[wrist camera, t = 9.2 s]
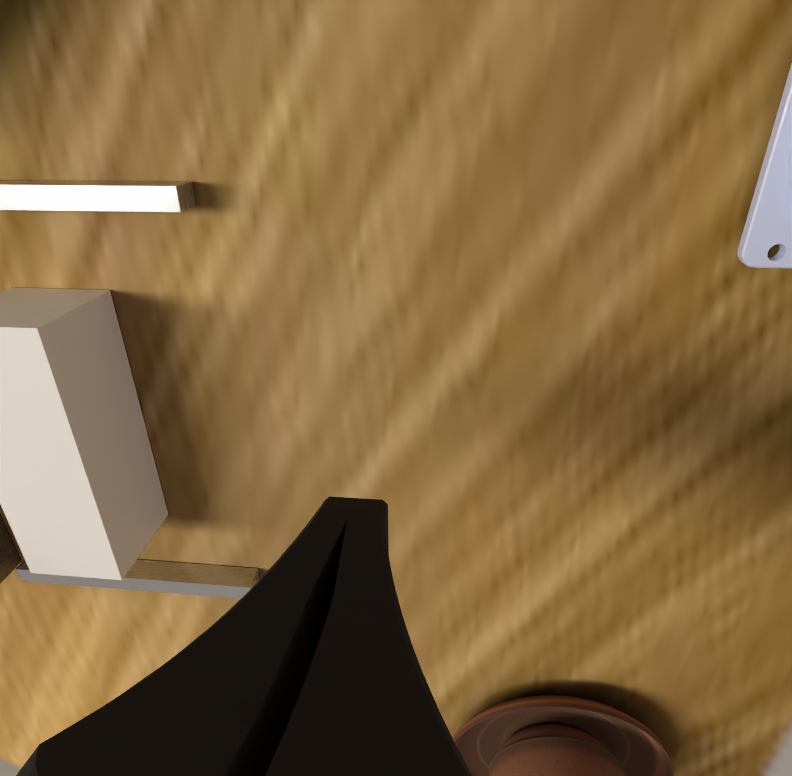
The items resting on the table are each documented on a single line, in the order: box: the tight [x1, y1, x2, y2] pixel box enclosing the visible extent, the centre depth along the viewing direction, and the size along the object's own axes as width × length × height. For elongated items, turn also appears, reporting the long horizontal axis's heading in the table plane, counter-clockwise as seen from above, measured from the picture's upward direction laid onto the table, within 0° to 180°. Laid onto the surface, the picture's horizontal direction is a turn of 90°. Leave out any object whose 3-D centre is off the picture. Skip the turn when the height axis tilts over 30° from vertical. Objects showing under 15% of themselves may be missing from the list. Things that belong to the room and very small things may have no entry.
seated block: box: [0, 288, 168, 580], centre depth 21 cm, size 4×11×4 cm, turn 0°
